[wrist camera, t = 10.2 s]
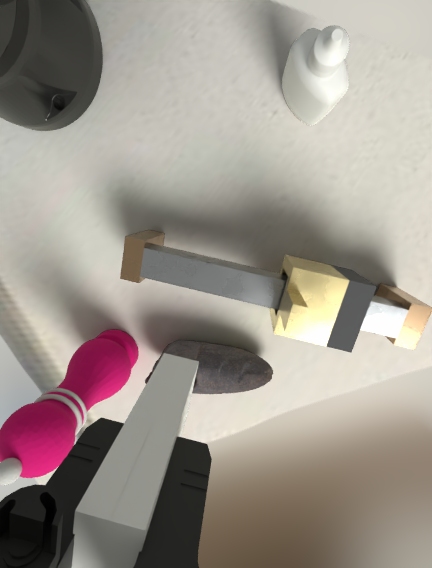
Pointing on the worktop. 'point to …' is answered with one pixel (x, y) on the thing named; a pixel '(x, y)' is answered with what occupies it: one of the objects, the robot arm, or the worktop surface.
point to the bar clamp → (260, 285)
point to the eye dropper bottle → (316, 73)
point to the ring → (351, 311)
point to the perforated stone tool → (221, 367)
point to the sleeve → (308, 300)
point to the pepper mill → (64, 407)
